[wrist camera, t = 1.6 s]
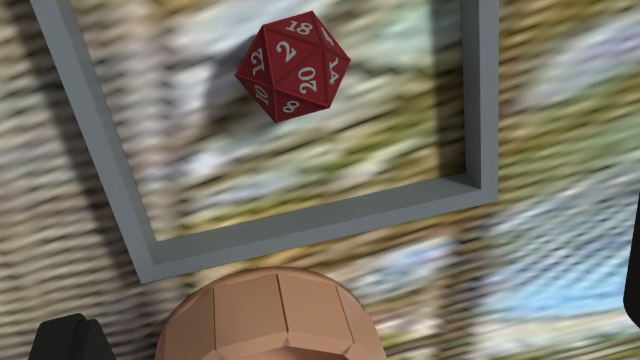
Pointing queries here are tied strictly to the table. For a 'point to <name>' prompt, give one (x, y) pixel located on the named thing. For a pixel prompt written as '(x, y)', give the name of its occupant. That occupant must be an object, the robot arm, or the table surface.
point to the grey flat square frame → (295, 225)
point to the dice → (293, 67)
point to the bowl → (270, 320)
